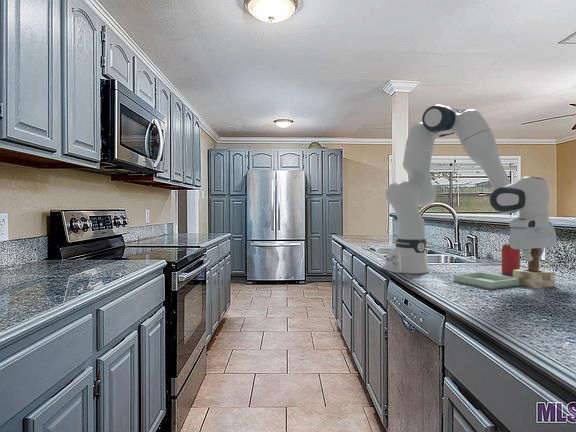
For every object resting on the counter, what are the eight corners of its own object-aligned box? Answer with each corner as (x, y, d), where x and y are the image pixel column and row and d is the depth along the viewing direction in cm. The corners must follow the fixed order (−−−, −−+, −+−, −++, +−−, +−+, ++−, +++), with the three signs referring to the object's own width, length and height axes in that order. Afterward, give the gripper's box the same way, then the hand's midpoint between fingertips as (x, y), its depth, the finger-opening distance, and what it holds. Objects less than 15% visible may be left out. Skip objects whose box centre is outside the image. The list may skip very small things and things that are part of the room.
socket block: (512, 283, 137) (512, 269, 137) (529, 281, 141) (529, 268, 141) (537, 288, 129) (537, 273, 129) (554, 286, 133) (554, 271, 133)
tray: (453, 281, 143) (453, 274, 143) (480, 278, 148) (480, 271, 148) (491, 289, 128) (491, 282, 128) (519, 285, 134) (519, 278, 134)
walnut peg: (525, 284, 136) (526, 248, 136) (531, 283, 137) (532, 247, 137) (534, 286, 133) (535, 249, 133) (540, 285, 134) (541, 248, 134)
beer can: (502, 271, 163) (502, 243, 162) (520, 273, 159) (520, 244, 158) (500, 273, 157) (500, 245, 157) (519, 275, 153) (519, 246, 153)
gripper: (543, 221, 142) (543, 258, 142) (505, 222, 133) (505, 261, 134) (561, 221, 136) (561, 260, 136) (523, 223, 128) (522, 263, 128)
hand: (533, 260), depth 135 cm, fingers closed on walnut peg, 3 cm apart
